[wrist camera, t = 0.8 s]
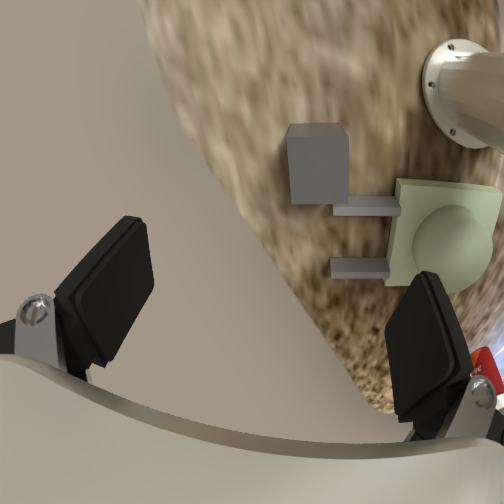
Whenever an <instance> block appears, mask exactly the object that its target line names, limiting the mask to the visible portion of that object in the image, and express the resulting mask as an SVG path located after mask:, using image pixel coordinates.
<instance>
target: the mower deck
mask: <svg viewBox="0 0 504 504" xmlns="http://www.w3.org/2000/svg"><path fill="white" fill-rule="evenodd" d="M502 198H503V193H502V192H501V191H500V190H498V189H497V188H496V187H491V186H484V185H475V184H466V183H457V182H446V181H433V180H419V179H402V178H396V187H395V196H368V195H349V196H348V204H332V210H333V216H392V223H391V230H390V237H389V243H388V249H387V255H386V257H352V258H330V274H331V279H383V280H384V284H385V286H410V284H411V282H412V280H413V279H414V277H415V275H416V274H419V273H420V272H421V271H429V272H433V273H437V274H438V276H439V278H440V280H441V282H442V284H443V286H444V289H445V291H446V293H447V294H453V293H457V292H460V291H462V290H464V289H466V288H468V287H469V286H471V285H472V284H473V283H475V282H476V281H477V280H478V279H479V278H480V277H481V275H482V274H483V273H484V271H485V270H486V268H487V266H488V265H489V262H490V260H491V256H492V251H493V243H492V235H493V232H494V228H495V225H496V221H497V218H498V214H499V210H500V206H501V202H502Z"/></svg>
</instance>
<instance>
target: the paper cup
mask: <svg viewBox="0 0 504 504" xmlns="http://www.w3.org/2000/svg"><path fill="white" fill-rule="evenodd" d="M470 356H471V359H472V363H473V366H474V370H473V371H472V372H471V375H472V377H473V376H475V375H483V376H485V377H487V378H488V379H489V380H490V381H491V382H492V383H493V385H494V387H495V389H496V393H497V405H496V409H497V410H499V409H500V408H501V407H503V406H504V385H503V382H502V379H501V376H500V373H499V371H498V368H497V366H496V363H495V361H494V358H493V356H492V353H491V351H490V349H489V347H481V348H479V349H477V350H476V351H474V352H473V353H472V354H471V355H470Z"/></svg>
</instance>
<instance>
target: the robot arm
mask: <svg viewBox="0 0 504 504" xmlns="http://www.w3.org/2000/svg"><path fill="white" fill-rule="evenodd" d="M448 47H449V49H448ZM428 83H430V87H429V86H428ZM422 89H423V95H424V99H425V103H426V106H427V109H428V111H429V113H430V115H431V117H432V119H433V120H434V122H435V123H436V125H437V127H438V128H439V129H440V130H441V131H442V132H443V133H444V134H445V135H446V136H447V137H449V138H450V139H451V140H453V141H454V142H456V143H458V144H460V145H462V146H465V147H468V148H473V149H477V148H484V147H487V146H490V147H492V148H494V149H495V150H497V151H499V152H500V153H502V154H503V155H504V53H496V52H488V51H487V50H486V49H484V48H483V47H481V46H480V45H478V44H476V43H474V42H472V41H469V40H464V39H451V40H446V41H444V42H442V43H440V44H438V45H437V46H436V47H434V48H433V49H432V51H431V52H430V53H429V55H428V56H427V59H426V61H425V64H424V68H423V73H422ZM450 129H451V132H450ZM153 287H154V277H153V271H152V264H151V257H150V251H149V244H148V235H147V227H146V224H145V223H143V221H142V219H141V218H139V217H133V216H124V217H123V218H122V219H121V220H120V221H119V222H118V223H117V224H116V225H115V226H114V227H113V228H112V229H111V230H110V231H109V232H108V233H107V234H106V235H105V236H104V237H103V238H102V239H101V240H100V241H99V242H98V243H97V244H96V245H95V246H94V247H93V248H92V249H91V250H90V251H89V253H88V254H87V255H86V256H85V257H84V258H83V259H82V260H81V261H80V262H79V264H78V265H77V266H76V267H75V268H74V269H73V270H72V271H71V272H70V274H69V275H68V276H67V277H66V278H65V279H64V281H63V282H62V283H61V284H60V285H59V287H58V288H57V289H56V290H55V291H54V293H55V295H56V297H55V298H54V299H53V300H52V298H51V297H50V296H48V295H46V294H36V295H33V296H31V297H29V298H28V299H26V300H25V301H24V302H23V303H22V304H21V305H20V307H19V309H18V311H17V315H16V319H13V320H10V321H7V322H4V323H1V324H0V504H504V416H503V415H502V414H501V413H500V412H499V411H498V410H497V409H496V405H497V393H496V389H495V387H494V385H493V383H492V382H491V381H490V380H489V379H488V378H487V377H485V376H483V375H475V376H473V377H472V378H471V376H470V373H471V372H472V371H473V370H474V366H473V363H472V359H471V356H470V353H469V350H468V347H467V344H466V341H465V338H464V336H463V333H462V330H461V327H460V325H459V322H458V320H457V317H456V314H455V312H454V309H453V307H452V305H451V302H450V300H449V298H448V295H447V293H446V291H445V289H444V286H443V284H442V282H441V280H440V278H439V276H438V274H437V273H433V272H429V271H421V272H420V273H419V274H416V275H415V277H414V279H413V280H412V282H411V284H410V286H409V288H408V289H407V291H406V293H405V295H404V296H403V298H402V300H401V302H400V303H399V305H398V307H397V308H396V310H395V312H394V313H393V315H392V316H391V318H390V320H389V321H388V323H387V324H386V327H385V339H386V345H387V352H388V358H389V365H390V373H391V381H392V389H393V399H394V410H395V413H396V415H398V420H399V423H403V422H412V421H413V428H412V430H411V431H410V433H409V434H408V436H407V437H406V439H405V440H404V441H403V442H397V443H375V444H345V443H323V442H309V441H298V440H288V439H281V438H273V437H266V436H260V435H254V434H248V433H242V432H238V431H233V430H228V429H223V428H219V427H214V426H210V425H206V424H203V423H199V422H195V421H191V420H188V419H184V418H181V417H177V416H174V415H171V414H167V413H164V412H161V411H158V410H155V409H152V408H149V407H146V406H144V405H141V404H138V403H135V402H133V401H130V400H127V399H125V398H122V397H120V396H117V395H115V394H113V393H110V392H108V391H106V390H103V389H101V388H98V387H96V386H94V385H93V384H92V380H91V376H90V371H89V367H90V366H91V364H92V363H94V364H96V365H99V366H101V367H103V368H105V367H106V365H107V363H108V361H109V362H110V361H112V360H113V359H114V357H115V355H116V354H117V352H118V350H119V348H120V346H121V344H122V343H123V340H124V339H125V337H126V335H127V333H128V332H129V330H130V328H131V326H132V325H133V323H134V321H135V319H136V318H137V316H138V314H139V312H140V311H141V309H142V307H143V306H144V304H145V302H146V300H147V299H148V297H149V295H150V294H151V292H152V290H153Z"/></svg>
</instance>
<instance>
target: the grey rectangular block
mask: <svg viewBox="0 0 504 504" xmlns="http://www.w3.org/2000/svg"><path fill="white" fill-rule="evenodd" d="M286 143H287V154H288V165H289V178H290V191H291V205H296V204H348V196H349V137H348V135H347V134H346V132H345V131H344V129H343V128H342V127H341V125H340V124H339V123H303V124H290V127H289V130H288V133H287V136H286Z"/></svg>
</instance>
